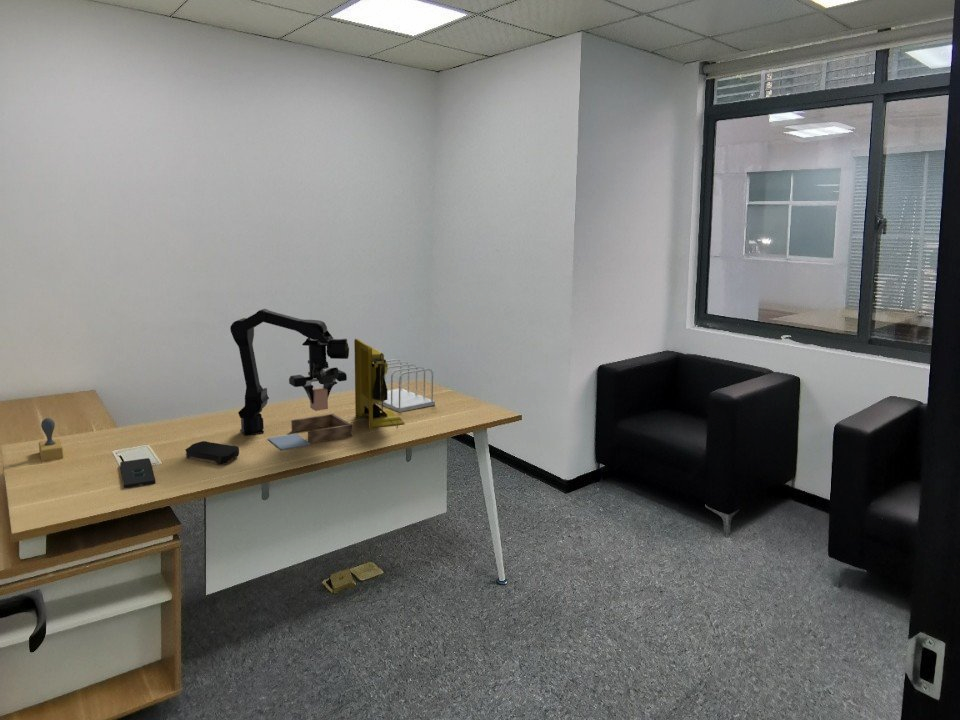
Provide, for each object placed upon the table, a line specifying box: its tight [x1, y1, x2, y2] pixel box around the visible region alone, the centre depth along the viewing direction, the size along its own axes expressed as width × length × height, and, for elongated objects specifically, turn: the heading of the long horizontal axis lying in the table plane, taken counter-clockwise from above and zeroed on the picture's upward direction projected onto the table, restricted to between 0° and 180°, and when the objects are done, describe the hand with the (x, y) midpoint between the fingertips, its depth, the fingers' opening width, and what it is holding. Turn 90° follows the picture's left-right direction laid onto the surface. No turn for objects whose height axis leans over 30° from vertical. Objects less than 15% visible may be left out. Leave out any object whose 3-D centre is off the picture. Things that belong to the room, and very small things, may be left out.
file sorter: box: [378, 358, 436, 413], centre depth 282 cm, size 25×17×16 cm
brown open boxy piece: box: [290, 413, 353, 444], centre depth 240 cm, size 16×16×4 cm
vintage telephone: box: [353, 338, 406, 430], centre depth 253 cm, size 31×14×30 cm, turn 25°
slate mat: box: [267, 432, 312, 451], centre depth 231 cm, size 10×13×1 cm
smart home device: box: [119, 457, 156, 489], centre depth 200 cm, size 8×2×20 cm
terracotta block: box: [309, 386, 329, 412], centre depth 238 cm, size 4×4×7 cm
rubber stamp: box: [38, 417, 64, 462], centre depth 213 cm, size 10×6×12 cm, turn 35°
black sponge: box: [185, 440, 240, 465], centre depth 215 cm, size 16×8×4 cm, turn 69°
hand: (318, 402), depth 238 cm, fingers closed on terracotta block, 4 cm apart
